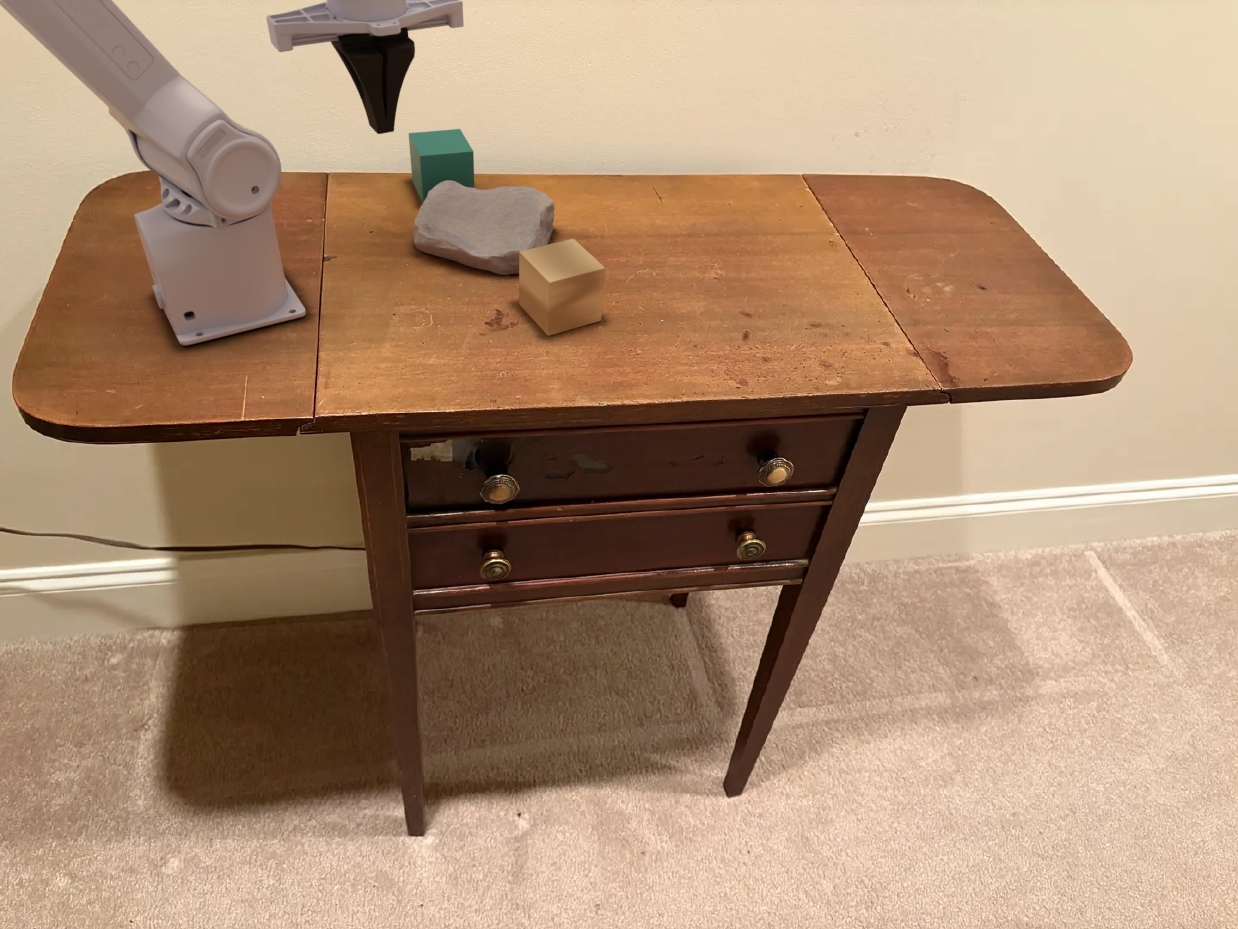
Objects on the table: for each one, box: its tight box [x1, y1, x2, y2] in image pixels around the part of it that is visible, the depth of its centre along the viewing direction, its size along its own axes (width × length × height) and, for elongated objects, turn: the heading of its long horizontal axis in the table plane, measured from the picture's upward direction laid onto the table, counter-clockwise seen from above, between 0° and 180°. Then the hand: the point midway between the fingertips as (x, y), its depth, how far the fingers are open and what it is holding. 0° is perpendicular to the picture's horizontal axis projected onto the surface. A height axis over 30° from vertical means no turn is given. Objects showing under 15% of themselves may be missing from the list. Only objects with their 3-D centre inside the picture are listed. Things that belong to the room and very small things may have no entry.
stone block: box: [412, 181, 556, 276], centre depth 82 cm, size 12×5×10 cm
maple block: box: [518, 238, 606, 337], centre depth 74 cm, size 5×5×5 cm
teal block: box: [408, 128, 476, 204], centre depth 88 cm, size 5×5×5 cm
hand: (381, 128), depth 75 cm, fingers closed
